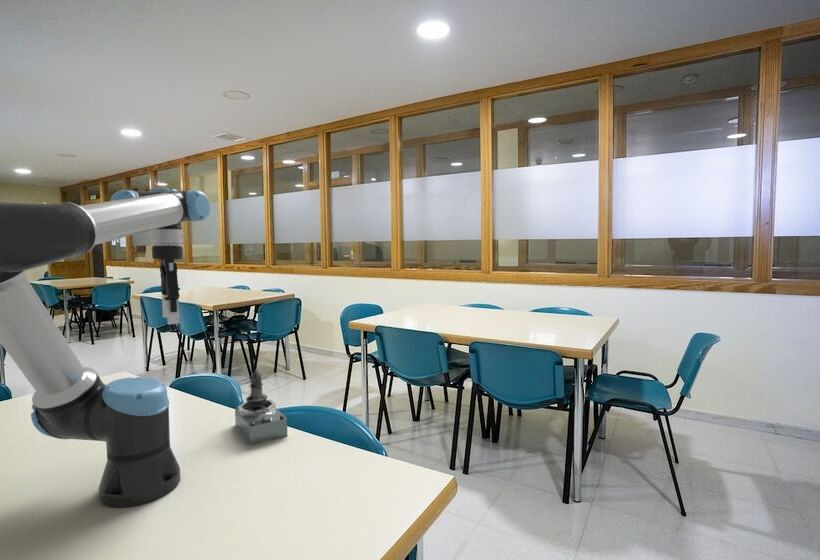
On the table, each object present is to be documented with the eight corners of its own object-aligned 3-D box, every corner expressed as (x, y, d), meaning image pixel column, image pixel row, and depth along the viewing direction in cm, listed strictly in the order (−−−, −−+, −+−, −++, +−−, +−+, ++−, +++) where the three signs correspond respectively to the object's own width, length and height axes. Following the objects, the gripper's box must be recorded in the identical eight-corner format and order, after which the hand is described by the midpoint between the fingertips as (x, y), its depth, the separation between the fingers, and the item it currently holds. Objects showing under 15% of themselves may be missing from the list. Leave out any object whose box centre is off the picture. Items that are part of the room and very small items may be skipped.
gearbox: (287, 435, 121) (286, 411, 120) (250, 445, 115) (249, 419, 114) (269, 417, 134) (268, 395, 133) (235, 425, 128) (234, 401, 127)
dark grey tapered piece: (271, 406, 129) (269, 366, 128) (262, 413, 123) (261, 372, 122) (252, 405, 130) (250, 366, 129) (242, 413, 124) (241, 372, 123)
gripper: (188, 244, 113) (192, 325, 115) (176, 245, 133) (179, 313, 135) (155, 244, 109) (159, 328, 110) (148, 245, 129) (152, 315, 131)
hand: (170, 320), depth 123 cm, fingers open, 13 cm apart
